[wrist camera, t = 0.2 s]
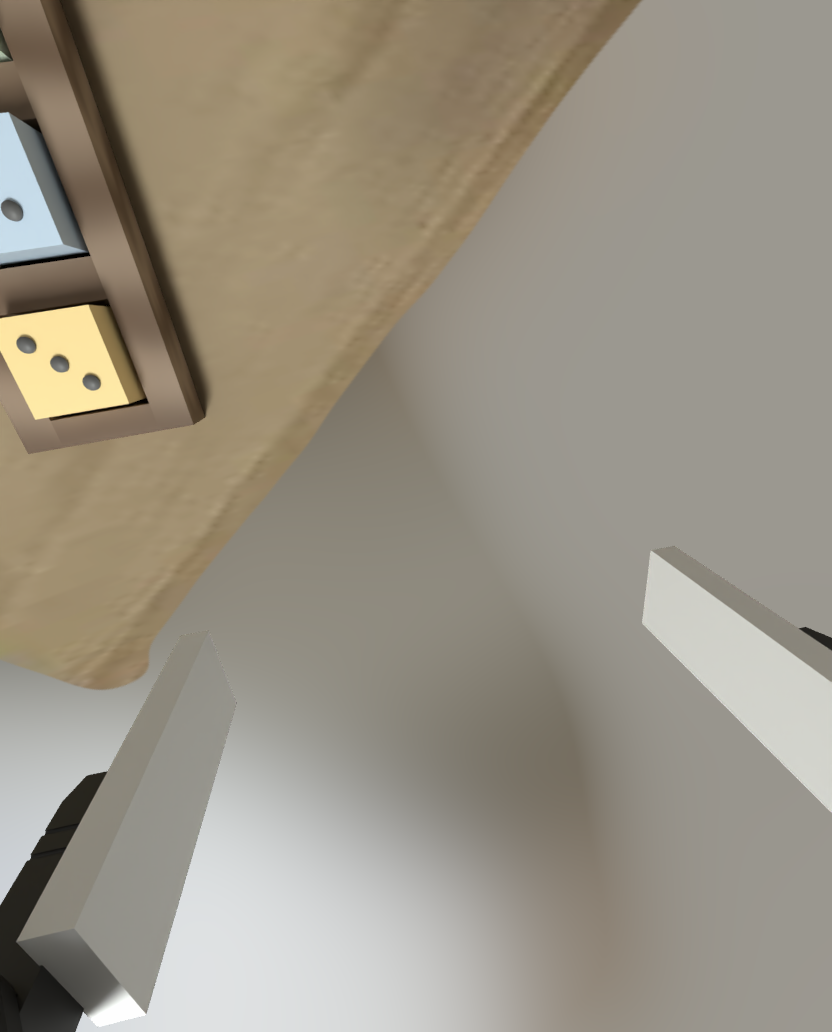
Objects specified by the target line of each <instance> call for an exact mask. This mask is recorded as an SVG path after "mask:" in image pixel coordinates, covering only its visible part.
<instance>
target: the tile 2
mask: <svg viewBox="0 0 832 1032" xmlns="http://www.w3.org/2000/svg"><path fill="white" fill-rule="evenodd" d="M82 253H89V250H88V248H87V245H86V243H85V240H84V238H83V235H82V233H81V230H80V228H79V225H78V223H77V220H76V218H75V215H74V212H73V210H72V207H71V205H70V202H69V200H68V197H67V195H66V192H65V190H64V187H63V185H62V182H61V180H60V177H59V175H58V172H57V170H56V167H55V164H54V162H53V159H52V157H51V154H50V152H49V149H48V147H47V144H46V142H45V139H44V137H43V134H41V133H40V132H38V131H37V130H35V129H34V128H32V127H31V126H29V125H27V124H26V123H24V122H23V121H21V120H20V119H18V118H16V117H15V116H13V115H12V114H10V113H9V112H7V113H0V265H7V264H14V263H20V262H27V261H34V260H41V259H48V258H54V257H61V256H68V255H75V254H82Z"/></svg>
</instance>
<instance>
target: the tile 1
mask: <svg viewBox="0 0 832 1032" xmlns="http://www.w3.org/2000/svg"><path fill="white" fill-rule="evenodd" d="M10 61H13V58H12V56H11V53H10V51H9V48H8V46H7V43H6V41H5V38H4V36H3V33H2V31H1V28H0V63H1V62H10Z"/></svg>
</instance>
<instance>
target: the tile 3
mask: <svg viewBox="0 0 832 1032" xmlns="http://www.w3.org/2000/svg"><path fill="white" fill-rule="evenodd" d="M0 351H1V353H2V355H3V357H4V359H5V361H6V363H7V365H8V367H9V369H10V371H11V373H12V375H13V377H14V379H15V381H16V383H17V385H18V387H19V389H20V391H21V393H22V394H23V396H24V398H25V400H26V402H27V404H28V406H29V408H30V410H31V412H32V414H33V416H34V418H35V420H37V419H43V418H48V417H54V416H60V415H66V414H72V413H77V412H83V411H89V410H95V409H101V408H107V407H112V406H118V405H124V404H129V403H132V402H135V401H138V400H141V399H144V398H147V397H146V394H145V392H144V389H143V387H142V384H141V382H140V379H139V377H138V374H137V372H136V369H135V367H134V364H133V361H132V359H131V356H130V354H129V351H128V349H127V346H126V344H125V341H124V339H123V336H122V334H121V331H120V329H119V326H118V324H117V321H116V319H115V316H114V314H113V311H112V308H111V307H107V306H96V305H83V306H77V307H70V308H64V309H57V310H51V311H44V312H38V313H32V314H25V315H19V316H12V317H6V318H0Z"/></svg>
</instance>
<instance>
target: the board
mask: <svg viewBox="0 0 832 1032" xmlns="http://www.w3.org/2000/svg"><path fill="white" fill-rule="evenodd" d="M0 28H1V31H2V33H3V36H4V38H5V41H6V43H7V46H8V48H9V51H10V53H11V56H12V58H13V61H10V62H1V63H0V113H7V112H9V113H10V114H12V115H13V116H15V117H16V118H18V119H20V120H21V121H23V122H24V123H26V124H27V125H29V126H31V127H32V128H34V129H35V130H37V131H38V132H40V133H41V134H43V137H44V139H45V142H46V144H47V147H48V149H49V152H50V154H51V157H52V159H53V162H54V164H55V167H56V170H57V172H58V175H59V177H60V180H61V182H62V185H63V187H64V190H65V192H66V195H67V197H68V200H69V202H70V205H71V207H72V210H73V212H74V215H75V218H76V220H77V223H78V225H79V228H80V230H81V233H82V235H83V238H84V240H85V243H86V245H87V248H88V250H89V253H90V255H91V256H87V257H81V258H74V259H67V260H60V261H53V262H47V263H40V264H33V265H26V266H20V267H13V268H5V266H4V265H0V318H6V317H12V316H19V315H25V314H32V313H38V312H44V311H51V310H57V309H64V308H70V307H77V306H83V305H96V306H101V305H108V304H110V306H111V308H112V311H113V314H114V316H115V319H116V321H117V324H118V326H119V329H120V331H121V334H122V336H123V339H124V341H125V344H126V346H127V349H128V351H129V354H130V356H131V359H132V361H133V364H134V367H135V369H136V372H137V374H138V377H139V379H140V382H141V384H142V387H143V389H144V392H145V394H146V397H147V399H148V401H145V402H139V403H133V404H127V405H122V406H116V407H110V408H104V409H98V410H92V411H87V412H81V413H75V414H74V413H72V414H66V415H60V416H54V417H48V418H43V419H37V420H35V418H34V416H33V414H32V412H31V410H30V408H29V406H28V404H27V402H26V400H25V398H24V396H23V394H22V393H21V391H20V389H19V387H18V385H17V383H16V381H15V379H14V377H13V375H12V373H11V371H10V369H9V367H8V365H7V363H6V361H5V359H4V357H3V355H2V353H1V351H0V402H1V403H2V405H3V407H4V409H5V411H6V413H7V415H8V417H9V418H10V420H11V422H12V424H13V426H14V428H15V430H16V432H17V434H18V435H19V437H20V439H21V441H22V443H23V445H24V447H25V449H26V450H27V452H28V454H31V453H36V452H42V451H48V450H53V449H59V448H65V447H70V446H76V445H82V444H87V443H93V442H98V441H104V440H110V439H115V438H121V437H127V436H132V435H138V434H144V433H149V432H155V431H161V430H166V429H172V428H177V427H183V426H189V425H194V424H195V423H197V422H199V421H200V420H202V419H203V418H205V415H204V412H203V410H202V407H201V404H200V401H199V398H198V395H197V392H196V389H195V387H194V384H193V381H192V378H191V375H190V372H189V369H188V367H187V364H186V361H185V358H184V355H183V352H182V349H181V346H180V344H179V341H178V338H177V335H176V332H175V329H174V326H173V323H172V321H171V318H170V315H169V312H168V309H167V306H166V303H165V301H164V298H163V295H162V292H161V289H160V286H159V283H158V280H157V278H156V275H155V272H154V269H153V266H152V263H151V260H150V257H149V255H148V252H147V249H146V246H145V243H144V240H143V237H142V235H141V232H140V229H139V226H138V223H137V220H136V217H135V214H134V212H133V209H132V206H131V203H130V200H129V197H128V194H127V191H126V189H125V186H124V183H123V180H122V177H121V174H120V171H119V168H118V166H117V163H116V160H115V157H114V154H113V151H112V148H111V146H110V143H109V140H108V137H107V134H106V131H105V128H104V125H103V123H102V120H101V117H100V114H99V111H98V108H97V105H96V102H95V100H94V97H93V94H92V91H91V88H90V85H89V82H88V80H87V77H86V74H85V71H84V68H83V65H82V62H81V59H80V57H79V54H78V51H77V48H76V45H75V42H74V39H73V36H72V34H71V31H70V28H69V25H68V22H67V19H66V16H65V14H64V11H63V8H62V5H61V2H60V0H0Z"/></svg>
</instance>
